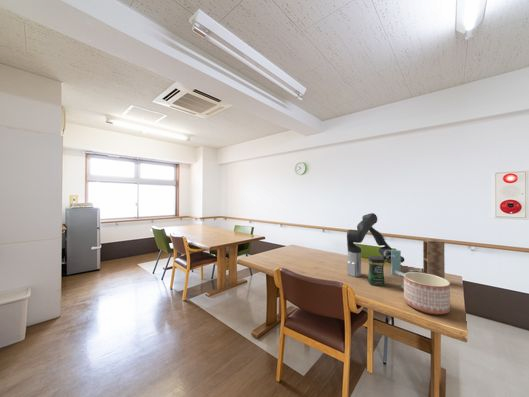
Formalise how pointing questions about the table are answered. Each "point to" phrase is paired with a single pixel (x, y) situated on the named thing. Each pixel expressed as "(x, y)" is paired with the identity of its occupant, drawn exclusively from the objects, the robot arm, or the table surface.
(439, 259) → the cabinet
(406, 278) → the planter
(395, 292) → the table surface
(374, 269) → the coffee jar
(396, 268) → the teal rectangular block
